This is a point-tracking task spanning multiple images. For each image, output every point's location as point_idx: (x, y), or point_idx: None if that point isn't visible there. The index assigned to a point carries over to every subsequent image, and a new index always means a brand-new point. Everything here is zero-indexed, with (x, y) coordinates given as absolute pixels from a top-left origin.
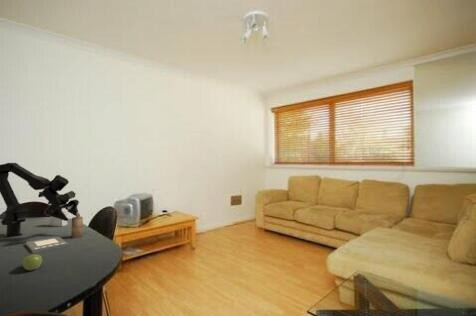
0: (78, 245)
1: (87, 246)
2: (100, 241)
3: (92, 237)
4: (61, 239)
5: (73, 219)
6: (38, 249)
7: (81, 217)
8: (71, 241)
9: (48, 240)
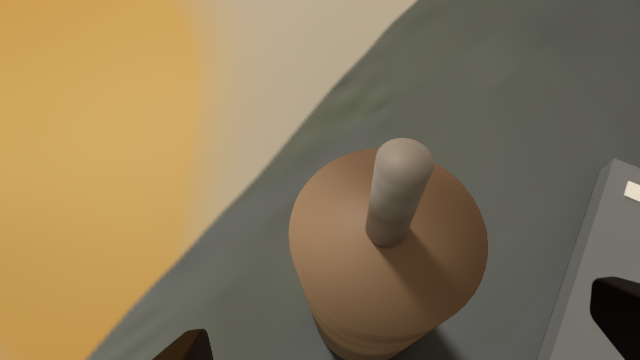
0: (547, 119)
1: (531, 63)
2: (415, 60)
3: None
4: (578, 311)
5: (478, 241)
6: None
7: (355, 165)
8: (503, 237)
9: None
